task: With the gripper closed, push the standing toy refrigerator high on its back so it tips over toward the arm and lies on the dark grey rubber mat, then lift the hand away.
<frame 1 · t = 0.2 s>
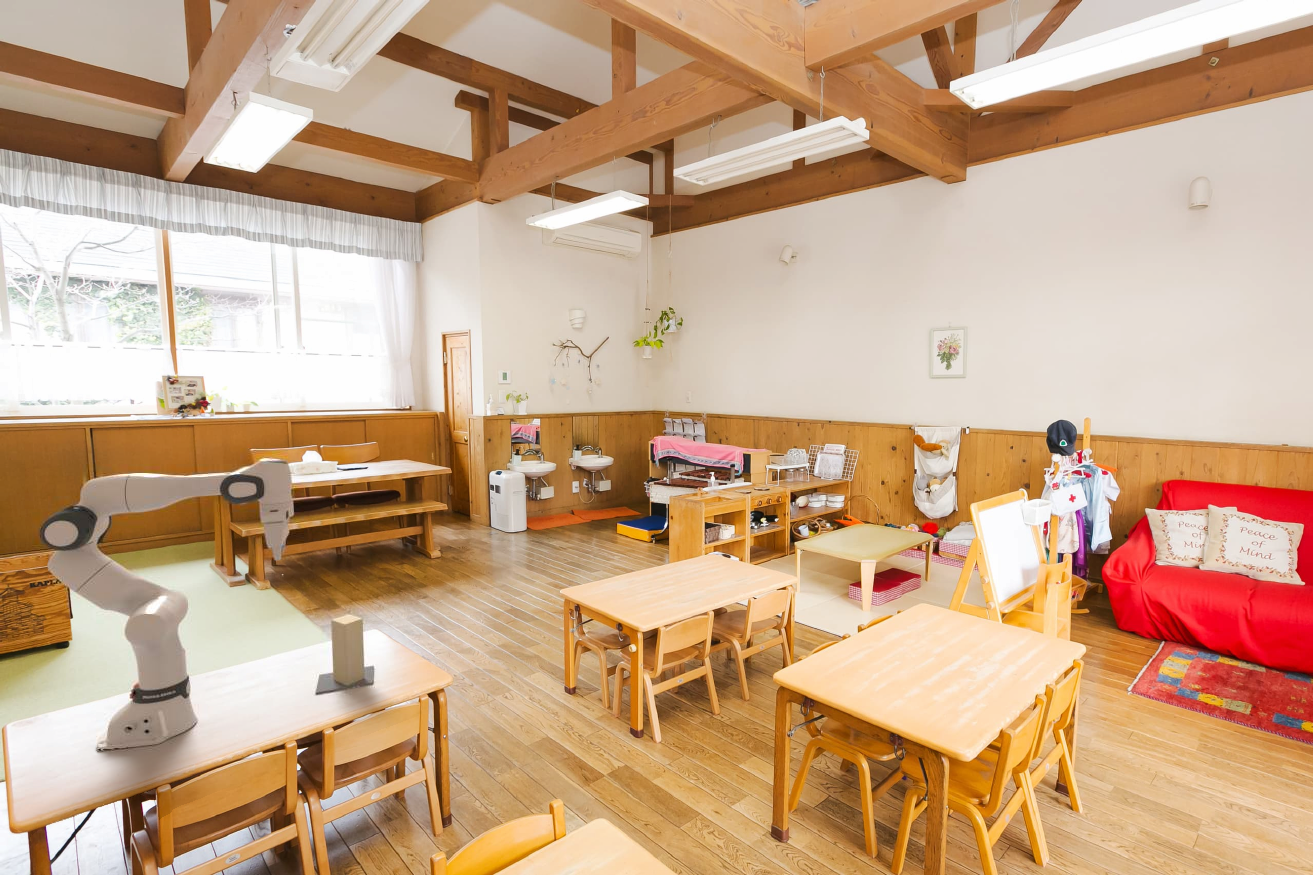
hand: (280, 555, 194), 48 cm above the table, tool pointing down, fingers open, 8 cm apart
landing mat: (345, 680, 215), on the table
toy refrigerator: (350, 679, 214), resting on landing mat
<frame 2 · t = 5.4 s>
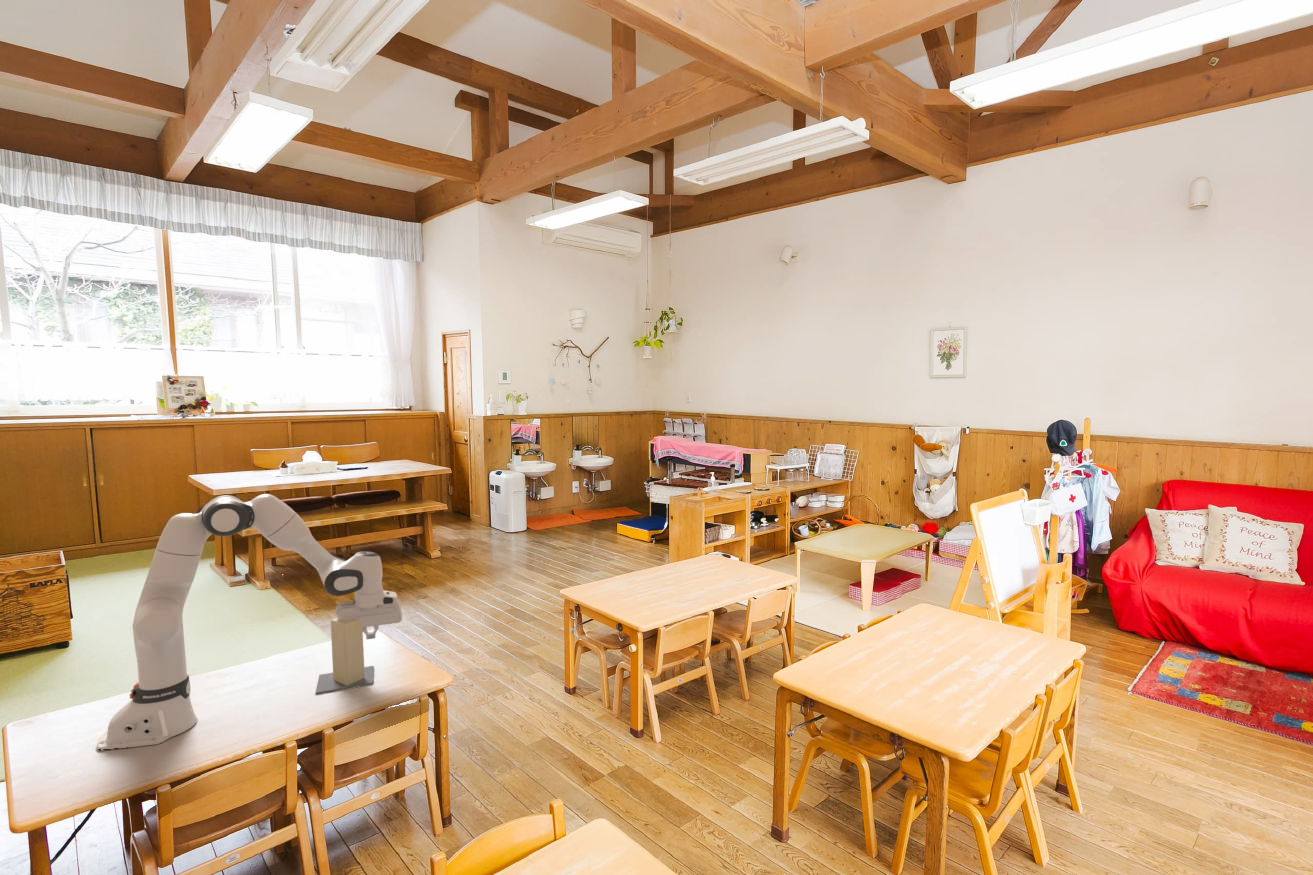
hand: (370, 638, 216), 14 cm above the table, tool pointing down, fingers closed
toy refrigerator: (350, 679, 214), resting on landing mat, touching gripper
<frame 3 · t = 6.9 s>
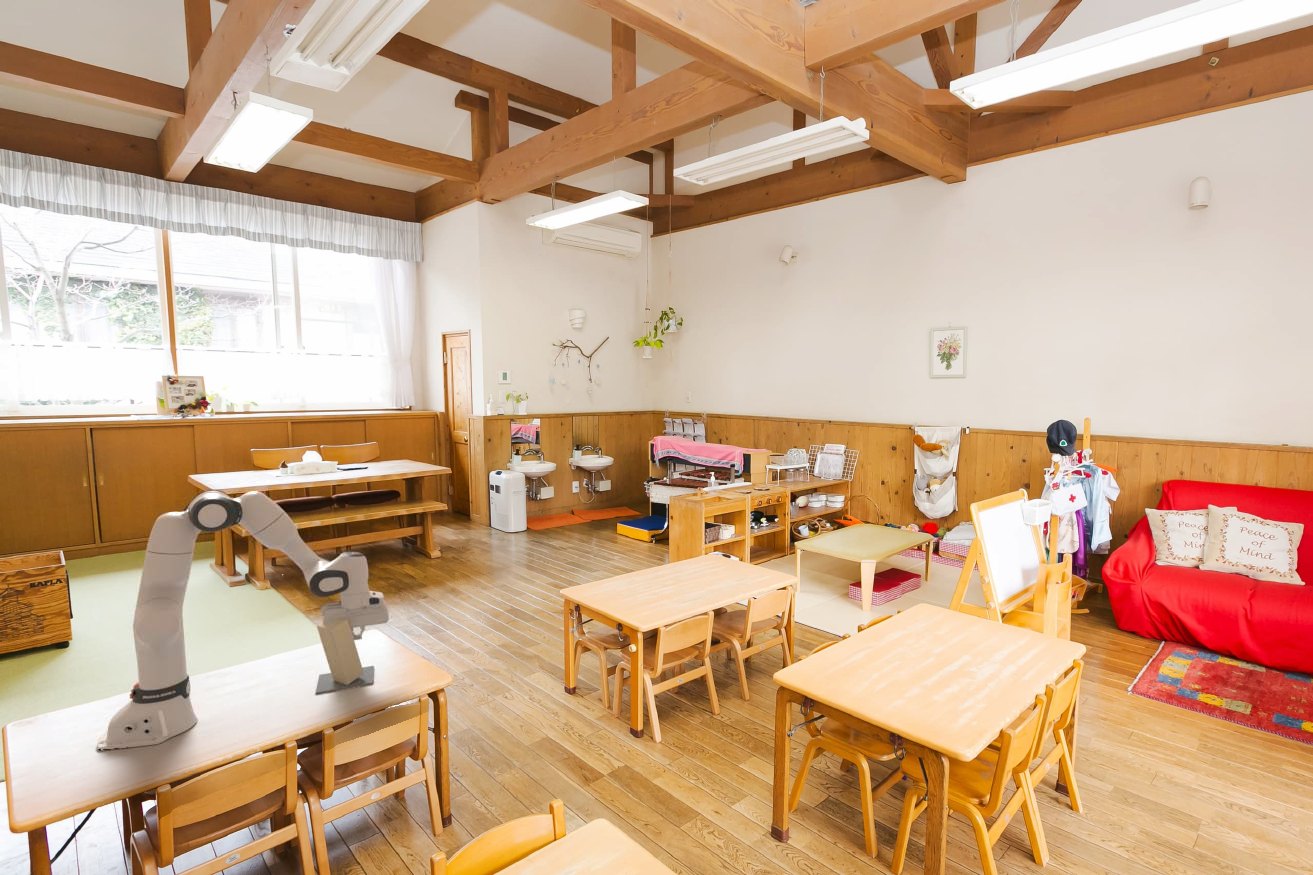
hand: (357, 639, 214), 14 cm above the table, tool pointing down, fingers closed
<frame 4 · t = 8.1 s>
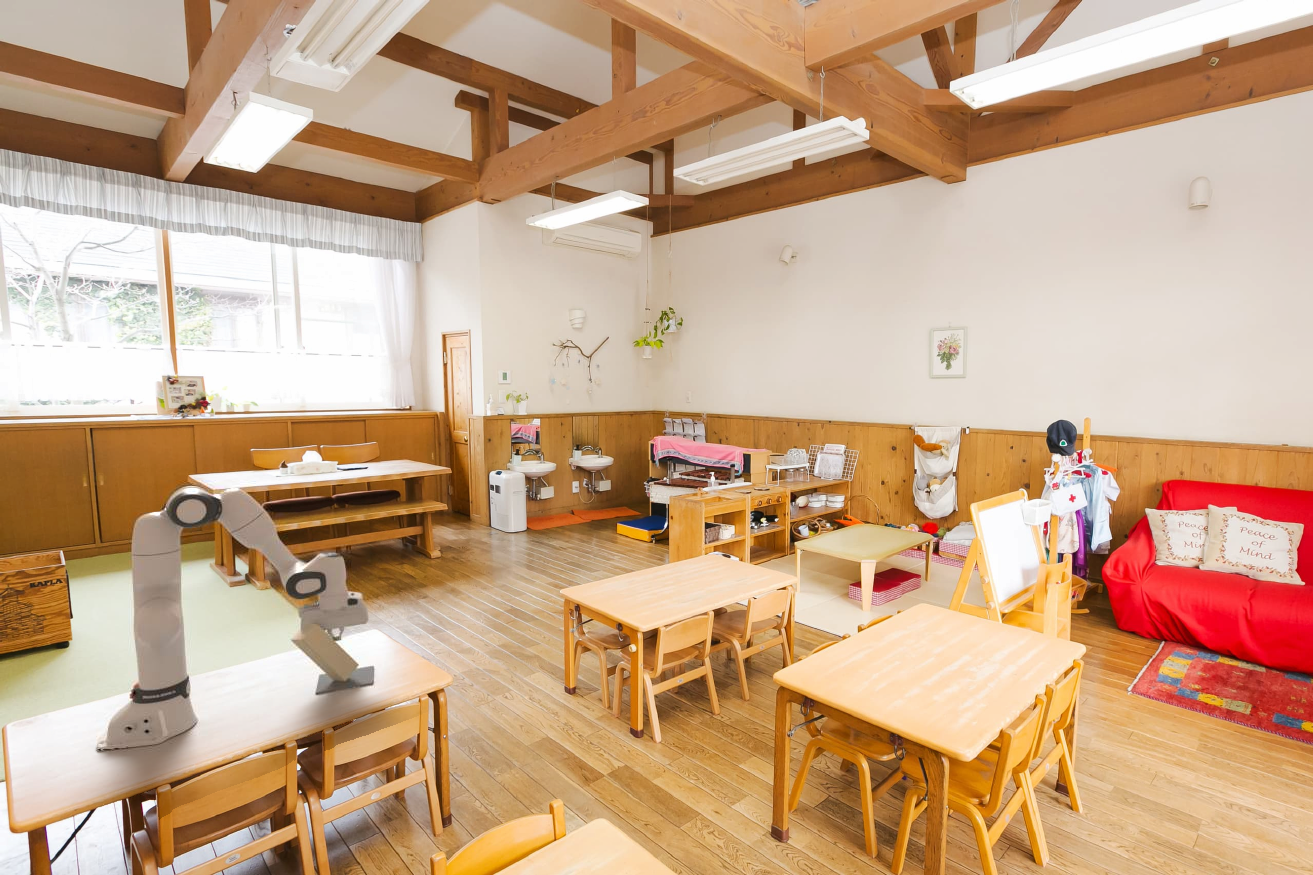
hand: (336, 640, 212), 15 cm above the table, tool pointing down, fingers closed
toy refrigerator: (347, 672, 214), point 3 cm above the table, touching gripper, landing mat
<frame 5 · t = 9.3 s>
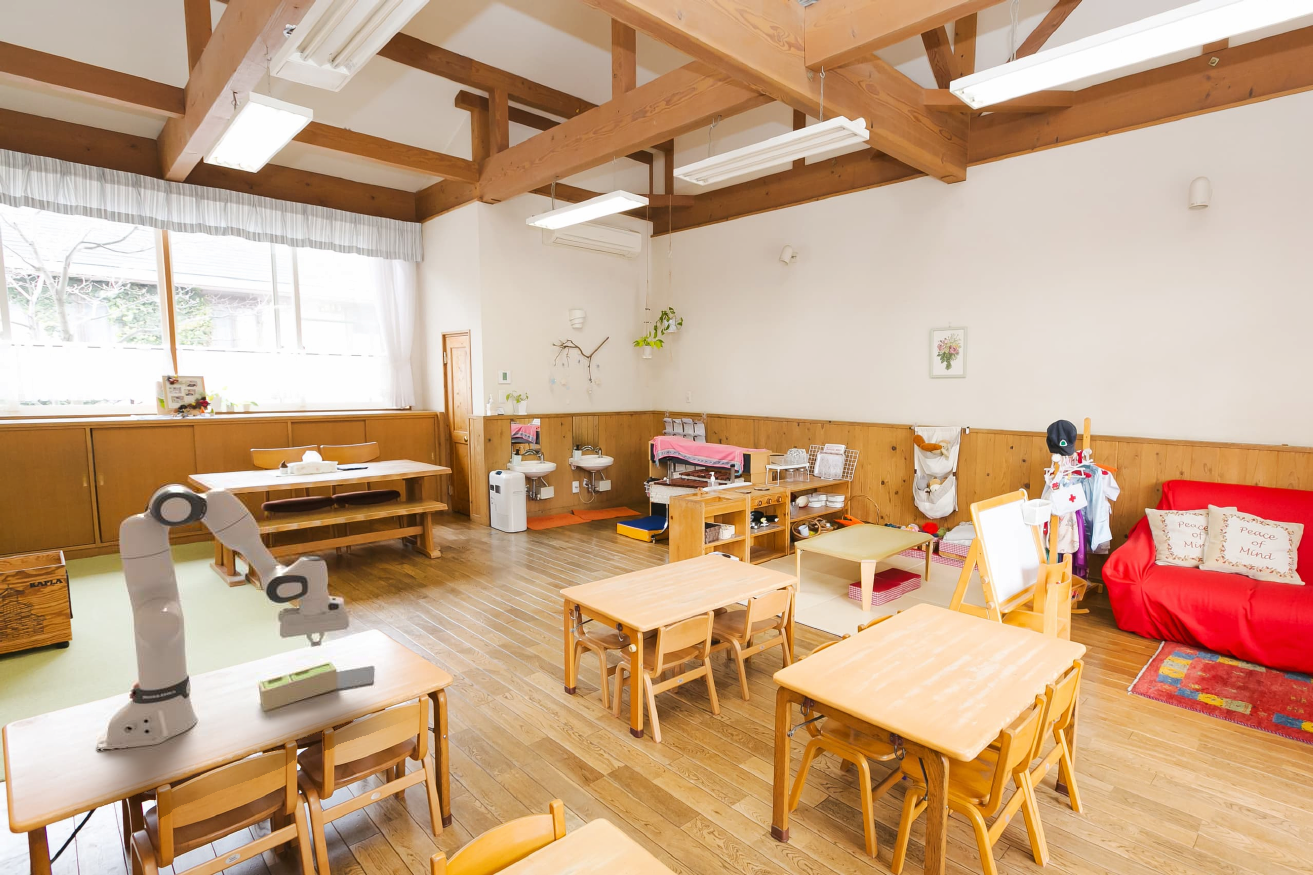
hand: (316, 645, 209), 14 cm above the table, tool pointing down, fingers closed
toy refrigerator: (335, 673, 210), point 4 cm above the table, touching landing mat
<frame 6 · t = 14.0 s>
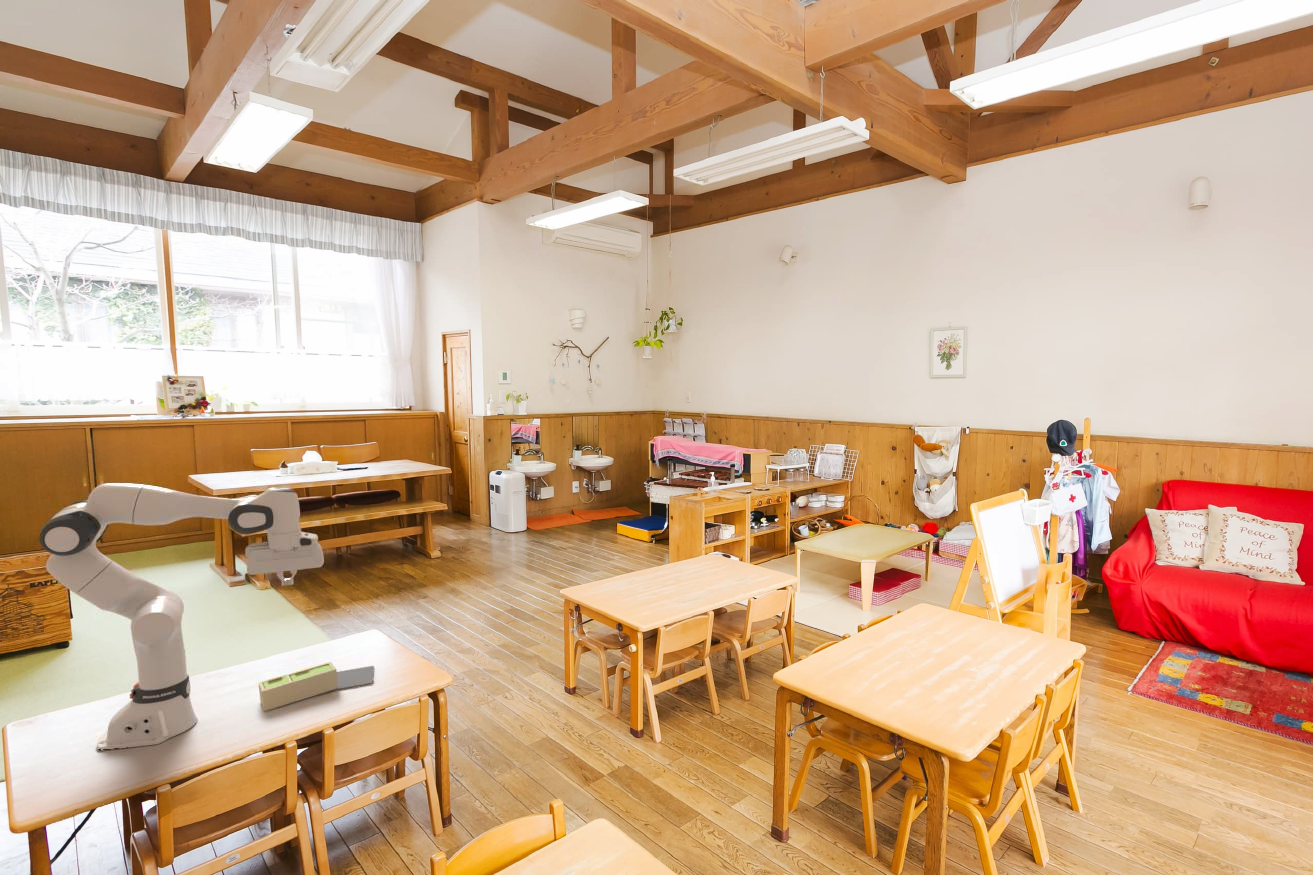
hand: (287, 584, 193), 39 cm above the table, tool pointing down, fingers closed
nothing on the table moved.
at the end: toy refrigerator tilted 93°; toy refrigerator touching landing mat, table; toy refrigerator inside the target area (2.6 cm from its centre), point 4.5 cm above the table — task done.
